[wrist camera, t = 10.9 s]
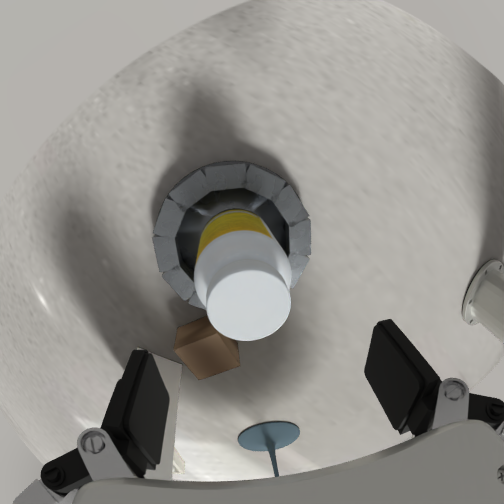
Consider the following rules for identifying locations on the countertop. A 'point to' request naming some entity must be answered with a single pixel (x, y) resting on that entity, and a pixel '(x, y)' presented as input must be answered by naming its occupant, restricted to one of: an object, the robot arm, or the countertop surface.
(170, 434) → the milk
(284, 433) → the cocktail glass
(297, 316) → the countertop surface
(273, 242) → the pill bottle
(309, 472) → the robot arm
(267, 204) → the collar
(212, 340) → the walnut block
